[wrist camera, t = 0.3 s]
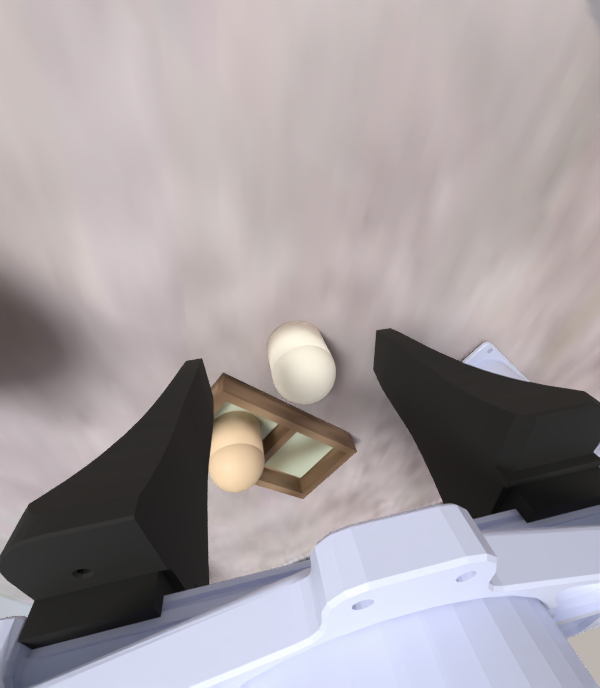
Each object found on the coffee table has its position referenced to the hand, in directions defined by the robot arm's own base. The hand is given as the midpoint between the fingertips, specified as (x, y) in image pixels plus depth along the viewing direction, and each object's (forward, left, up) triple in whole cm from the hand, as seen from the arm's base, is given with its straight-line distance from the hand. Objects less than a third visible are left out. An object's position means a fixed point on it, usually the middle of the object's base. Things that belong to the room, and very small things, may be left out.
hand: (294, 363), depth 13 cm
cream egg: (-5, +3, -10) cm, 12 cm away
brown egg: (-6, +12, -9) cm, 16 cm away
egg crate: (-9, +12, -10) cm, 18 cm away
